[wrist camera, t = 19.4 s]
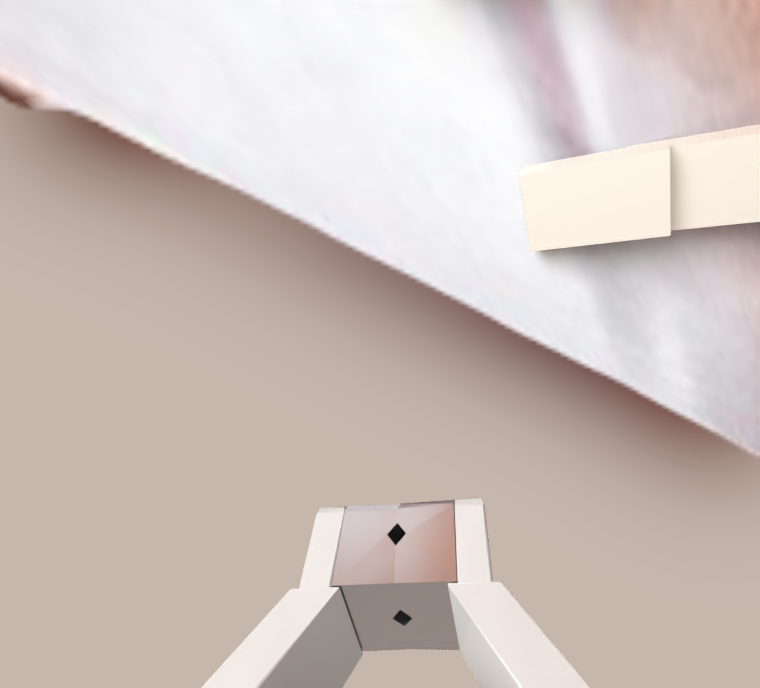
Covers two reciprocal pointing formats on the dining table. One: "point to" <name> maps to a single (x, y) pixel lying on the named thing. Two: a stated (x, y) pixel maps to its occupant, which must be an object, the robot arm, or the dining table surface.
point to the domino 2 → (715, 178)
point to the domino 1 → (598, 197)
